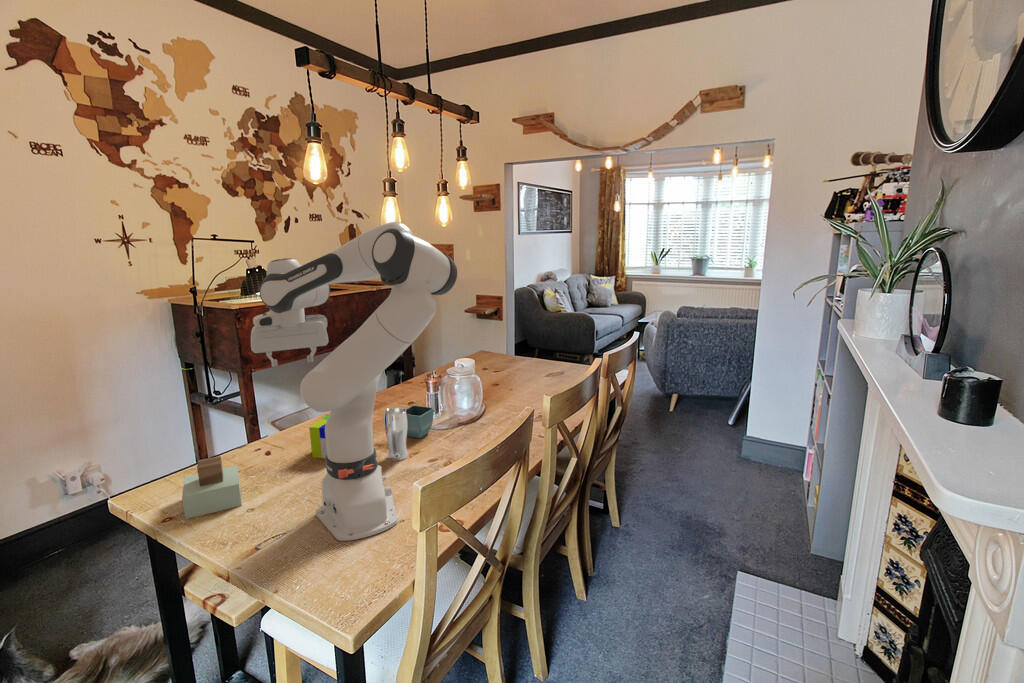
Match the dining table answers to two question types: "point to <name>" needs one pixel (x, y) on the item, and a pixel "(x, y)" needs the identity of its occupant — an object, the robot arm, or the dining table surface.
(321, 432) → the puzzle toy
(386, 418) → the beer glass
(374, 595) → the dining table surface
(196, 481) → the block
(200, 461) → the walnut cube
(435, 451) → the dining table surface
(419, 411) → the flower pot
